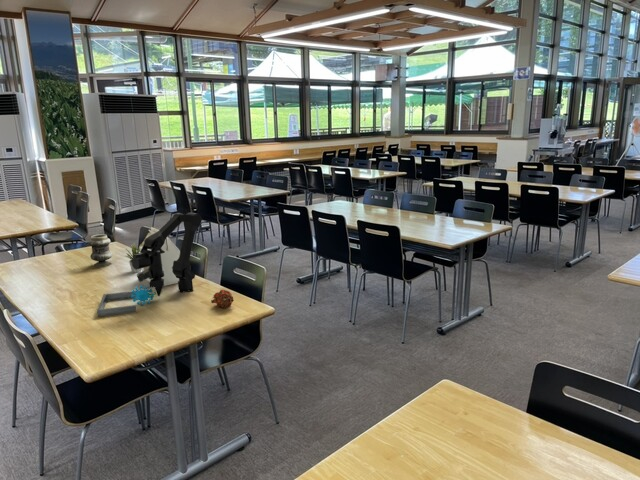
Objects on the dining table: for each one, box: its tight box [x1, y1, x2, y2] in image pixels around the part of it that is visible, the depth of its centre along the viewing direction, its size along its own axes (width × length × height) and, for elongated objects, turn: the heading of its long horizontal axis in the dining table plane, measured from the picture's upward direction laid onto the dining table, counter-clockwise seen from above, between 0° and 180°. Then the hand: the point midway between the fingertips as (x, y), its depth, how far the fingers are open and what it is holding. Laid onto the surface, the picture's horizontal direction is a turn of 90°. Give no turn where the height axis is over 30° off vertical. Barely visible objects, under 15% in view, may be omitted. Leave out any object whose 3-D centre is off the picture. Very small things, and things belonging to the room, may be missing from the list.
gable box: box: [138, 226, 181, 287], centre depth 246 cm, size 22×13×28 cm, turn 41°
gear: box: [131, 284, 157, 306], centre depth 217 cm, size 11×6×10 cm
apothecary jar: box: [88, 233, 113, 268], centre depth 278 cm, size 12×12×18 cm
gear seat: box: [96, 290, 138, 318], centre depth 212 cm, size 16×21×3 cm
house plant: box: [122, 242, 142, 273], centre depth 264 cm, size 14×14×16 cm
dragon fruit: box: [210, 289, 235, 309], centre depth 209 cm, size 8×8×12 cm
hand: (158, 295), depth 219 cm, fingers closed
